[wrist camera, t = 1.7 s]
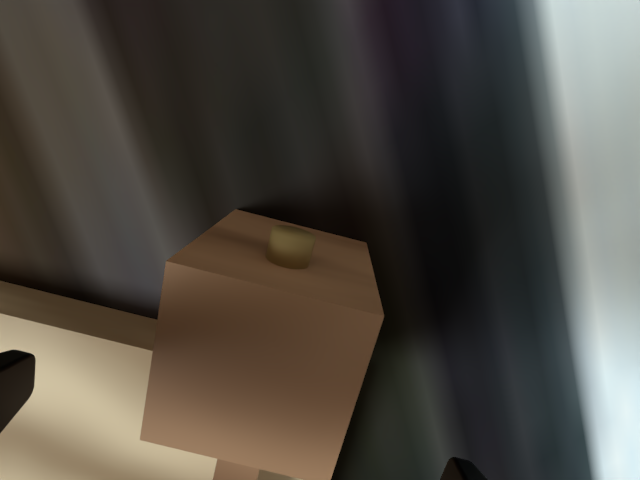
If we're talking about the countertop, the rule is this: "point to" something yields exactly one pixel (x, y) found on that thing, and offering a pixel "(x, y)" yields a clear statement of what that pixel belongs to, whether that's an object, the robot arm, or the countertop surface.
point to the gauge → (262, 347)
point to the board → (86, 395)
